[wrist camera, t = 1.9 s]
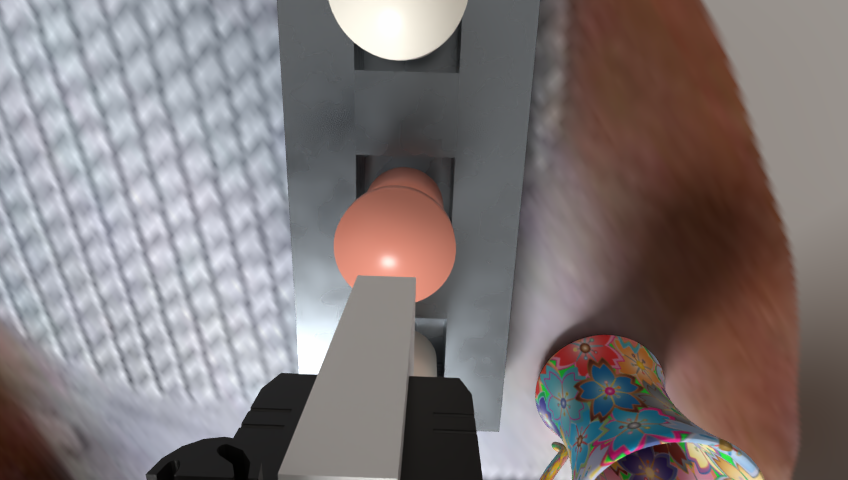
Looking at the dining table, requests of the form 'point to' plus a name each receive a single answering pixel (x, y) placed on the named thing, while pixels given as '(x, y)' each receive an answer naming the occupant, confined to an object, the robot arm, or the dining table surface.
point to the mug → (626, 419)
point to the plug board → (420, 149)
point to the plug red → (397, 232)
